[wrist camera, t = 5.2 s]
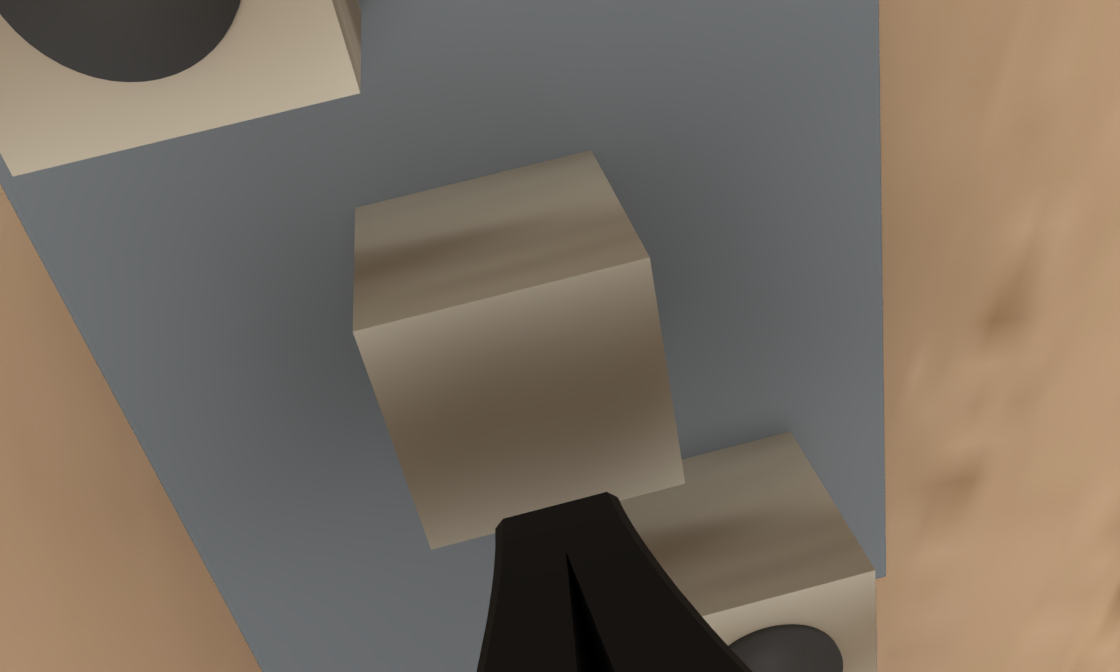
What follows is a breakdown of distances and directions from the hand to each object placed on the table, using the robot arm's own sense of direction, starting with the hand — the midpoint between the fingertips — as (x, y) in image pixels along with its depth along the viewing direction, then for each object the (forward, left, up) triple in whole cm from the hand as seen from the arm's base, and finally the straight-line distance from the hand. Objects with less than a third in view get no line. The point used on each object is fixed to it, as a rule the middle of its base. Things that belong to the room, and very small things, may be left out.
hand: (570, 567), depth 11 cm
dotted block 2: (-7, -3, -7) cm, 10 cm away
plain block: (0, 0, -7) cm, 7 cm away
